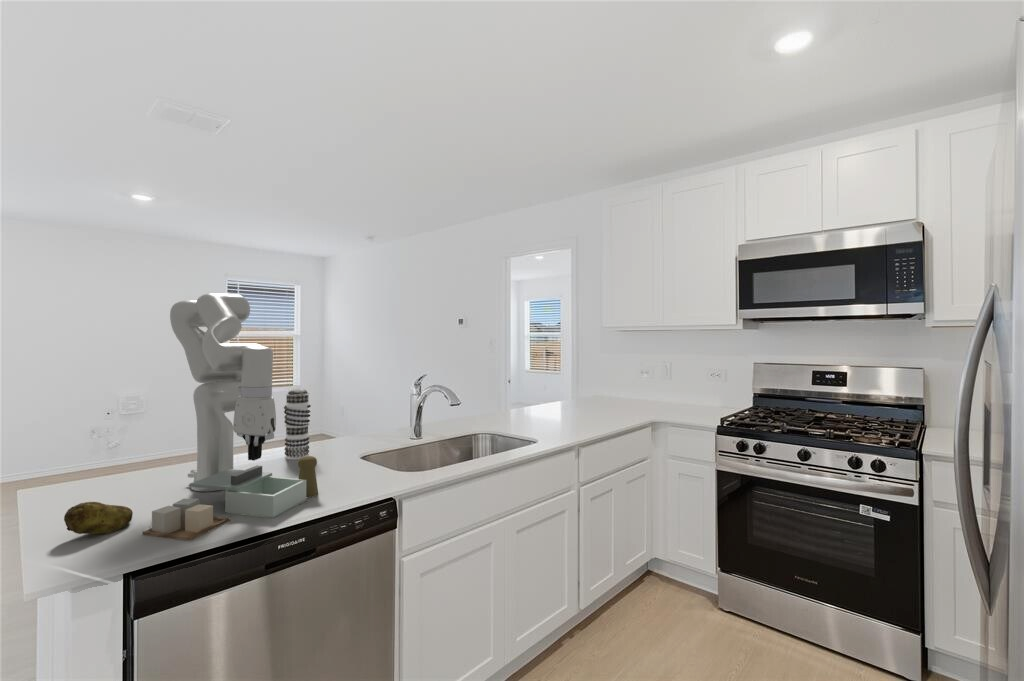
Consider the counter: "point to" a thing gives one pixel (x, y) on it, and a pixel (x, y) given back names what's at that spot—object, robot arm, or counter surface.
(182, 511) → the grey block
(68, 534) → the counter surface
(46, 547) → the counter surface
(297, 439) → the decorative candle
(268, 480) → the bin
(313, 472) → the cork
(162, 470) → the counter surface
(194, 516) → the sandstone block
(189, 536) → the tray
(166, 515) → the grey block
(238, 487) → the lid
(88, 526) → the potato
